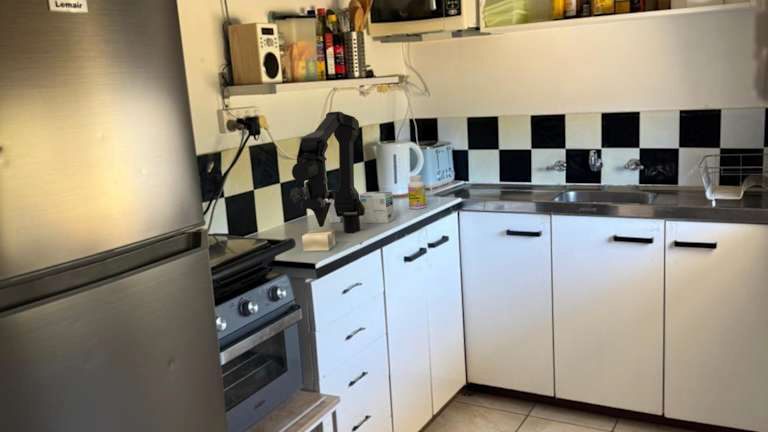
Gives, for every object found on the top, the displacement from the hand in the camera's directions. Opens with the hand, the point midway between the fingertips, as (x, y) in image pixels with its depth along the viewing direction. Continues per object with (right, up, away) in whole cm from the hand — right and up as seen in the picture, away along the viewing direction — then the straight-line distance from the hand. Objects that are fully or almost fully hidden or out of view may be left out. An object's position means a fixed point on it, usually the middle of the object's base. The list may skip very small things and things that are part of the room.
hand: (321, 226), depth 224 cm
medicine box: (+2, +1, +48) cm, 48 cm away
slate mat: (0, -7, -1) cm, 7 cm away
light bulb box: (+17, +1, +40) cm, 43 cm away
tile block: (0, -4, +1) cm, 4 cm away
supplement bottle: (+33, +6, +62) cm, 70 cm away
